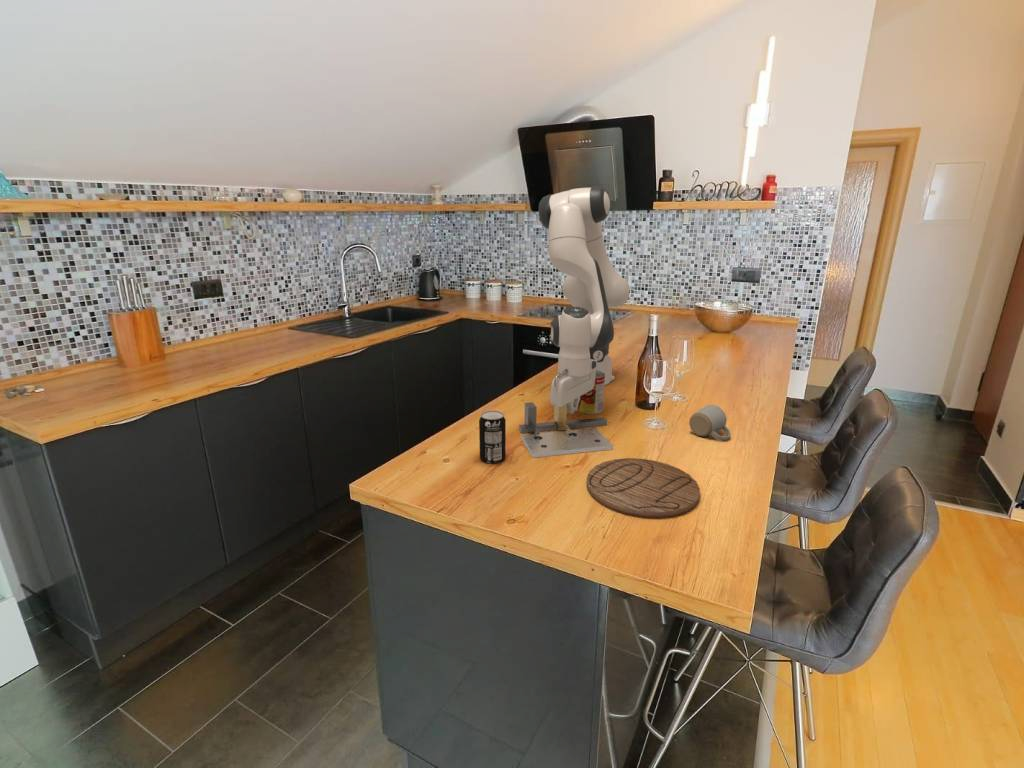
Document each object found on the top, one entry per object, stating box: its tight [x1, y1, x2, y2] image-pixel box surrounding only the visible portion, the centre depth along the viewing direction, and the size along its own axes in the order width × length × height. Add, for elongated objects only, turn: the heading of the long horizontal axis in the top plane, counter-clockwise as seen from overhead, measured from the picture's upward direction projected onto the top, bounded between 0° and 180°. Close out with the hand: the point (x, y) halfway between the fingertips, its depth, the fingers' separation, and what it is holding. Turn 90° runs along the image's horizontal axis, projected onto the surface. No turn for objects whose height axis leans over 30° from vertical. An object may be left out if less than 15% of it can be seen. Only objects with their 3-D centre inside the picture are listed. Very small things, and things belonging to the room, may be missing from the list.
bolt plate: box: [520, 427, 614, 459], centre depth 145 cm, size 12×22×1 cm, turn 103°
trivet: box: [586, 457, 701, 520], centre depth 122 cm, size 25×25×2 cm
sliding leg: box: [553, 404, 572, 432], centre depth 152 cm, size 10×2×8 cm, turn 13°
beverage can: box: [478, 410, 507, 464], centre depth 135 cm, size 7×7×12 cm
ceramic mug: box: [688, 404, 732, 442], centre depth 151 cm, size 11×8×8 cm
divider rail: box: [518, 401, 608, 435], centre depth 152 cm, size 10×26×8 cm, turn 103°
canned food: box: [577, 370, 605, 415], centre depth 168 cm, size 8×8×12 cm
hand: (572, 412), depth 155 cm, fingers closed
